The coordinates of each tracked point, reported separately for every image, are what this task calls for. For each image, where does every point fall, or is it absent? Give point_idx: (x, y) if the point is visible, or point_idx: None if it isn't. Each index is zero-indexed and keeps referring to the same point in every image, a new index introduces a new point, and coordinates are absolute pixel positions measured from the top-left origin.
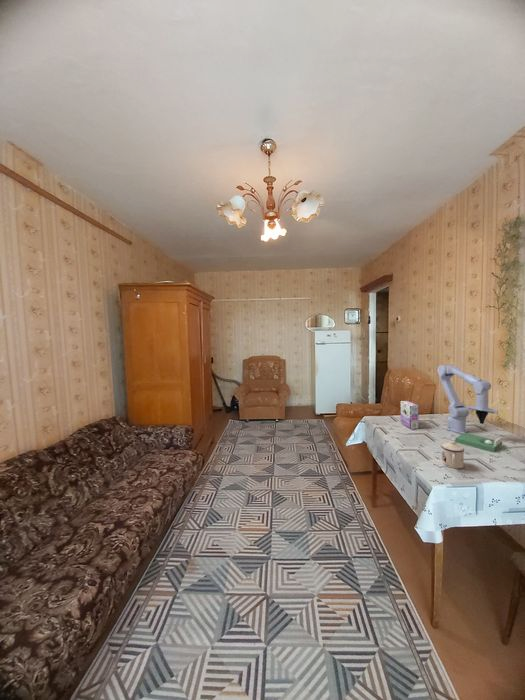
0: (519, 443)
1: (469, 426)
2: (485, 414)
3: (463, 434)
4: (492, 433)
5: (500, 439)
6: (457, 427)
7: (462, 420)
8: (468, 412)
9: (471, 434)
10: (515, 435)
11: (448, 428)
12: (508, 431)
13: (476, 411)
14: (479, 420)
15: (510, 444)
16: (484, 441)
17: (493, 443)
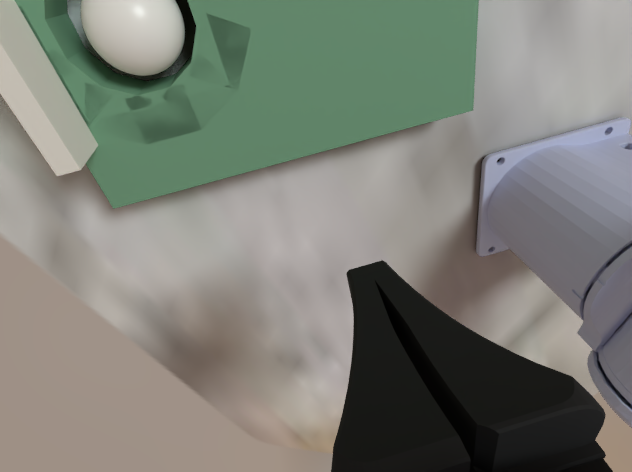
0: (130, 339)
1: (499, 335)
2: (333, 461)
3: (463, 25)
4: (347, 348)
5: (60, 166)
6: (572, 168)
7: (597, 250)
8: (620, 405)
9: (403, 121)
10: (255, 419)
11: (626, 137)
12: (315, 432)
13: (584, 446)
14: (407, 286)
15: (130, 271)
16: (196, 33)
17: (117, 83)
